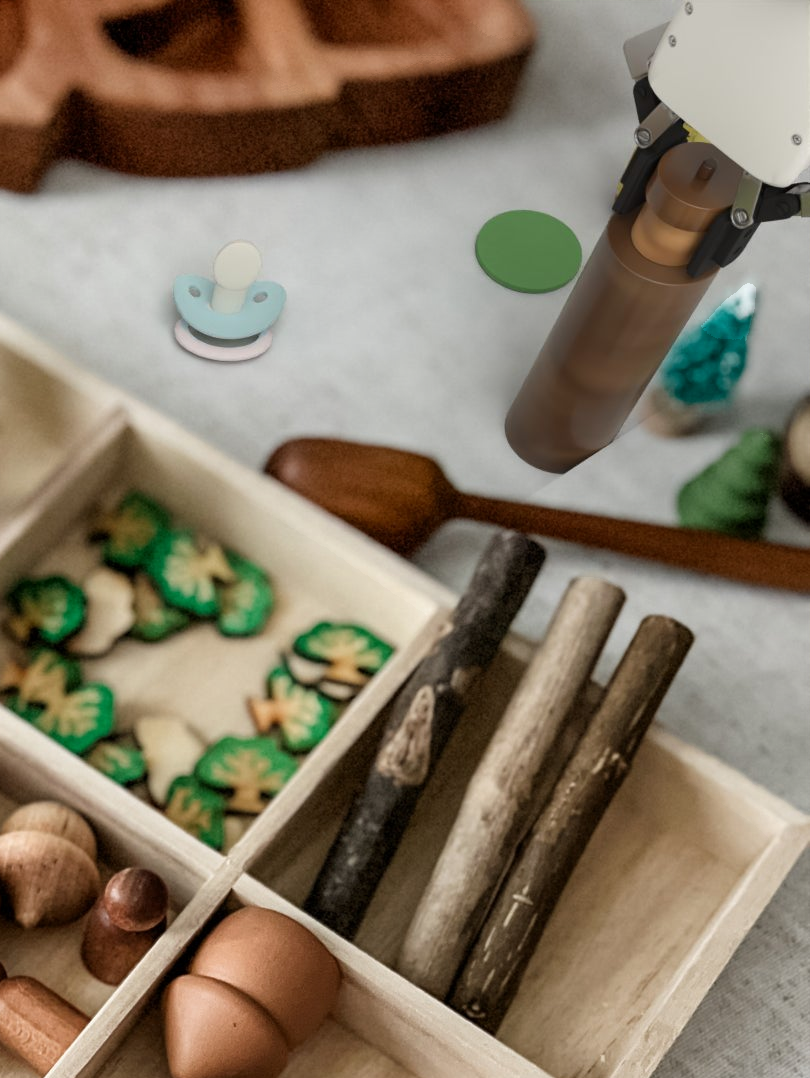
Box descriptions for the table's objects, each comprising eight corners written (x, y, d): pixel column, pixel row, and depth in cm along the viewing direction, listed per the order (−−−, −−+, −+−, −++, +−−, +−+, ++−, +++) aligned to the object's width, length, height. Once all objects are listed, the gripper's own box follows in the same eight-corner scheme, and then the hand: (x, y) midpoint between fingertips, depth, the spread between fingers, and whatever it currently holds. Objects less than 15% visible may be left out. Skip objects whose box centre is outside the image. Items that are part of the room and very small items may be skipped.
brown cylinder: (630, 441, 108) (753, 249, 93) (555, 491, 107) (668, 303, 92) (557, 375, 110) (666, 176, 95) (483, 423, 109) (581, 229, 94)
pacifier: (275, 372, 111) (279, 299, 113) (298, 304, 105) (301, 228, 107) (163, 361, 111) (169, 289, 113) (180, 293, 105) (186, 218, 107)
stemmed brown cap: (729, 246, 93) (777, 170, 89) (667, 285, 92) (712, 210, 88) (666, 193, 95) (709, 115, 90) (605, 231, 94) (645, 154, 89)
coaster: (602, 262, 114) (604, 257, 113) (526, 309, 112) (528, 305, 112) (528, 198, 116) (530, 194, 116) (453, 244, 114) (455, 239, 114)
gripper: (1055, -8, 75) (834, 299, 91) (767, -214, 80) (608, 112, 97) (940, 65, 73) (736, 363, 90) (654, -150, 78) (512, 170, 95)
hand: (672, 230), depth 93 cm, fingers closed on stemmed brown cap, 4 cm apart
